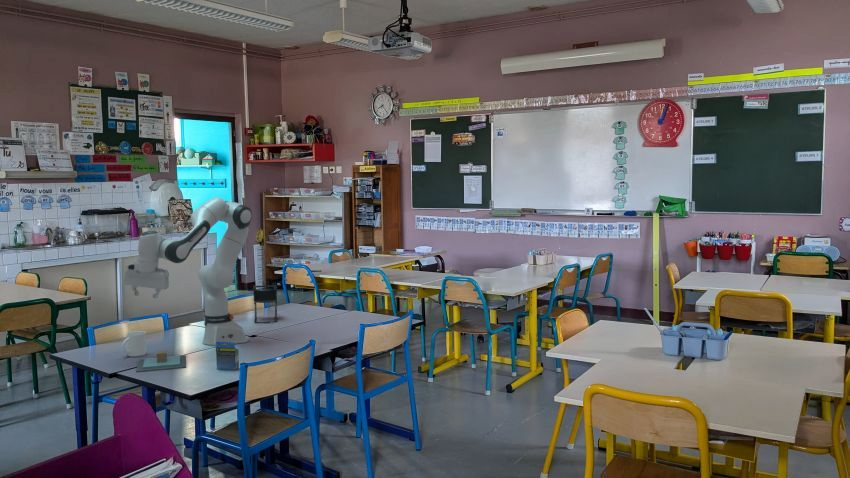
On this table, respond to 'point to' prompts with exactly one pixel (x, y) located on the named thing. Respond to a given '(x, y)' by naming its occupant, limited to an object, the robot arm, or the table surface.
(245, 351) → the table surface
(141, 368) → the mat
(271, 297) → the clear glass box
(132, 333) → the mug
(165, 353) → the lid
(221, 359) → the label tape cartridge
